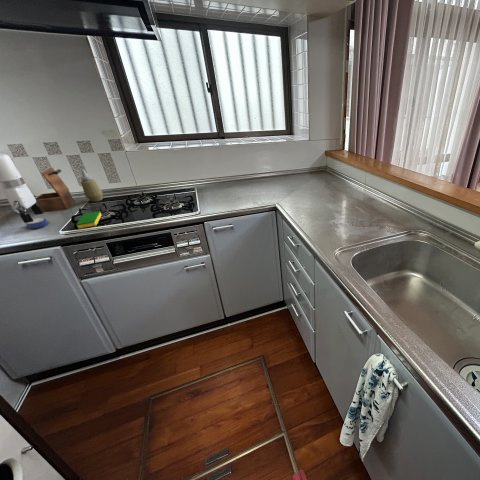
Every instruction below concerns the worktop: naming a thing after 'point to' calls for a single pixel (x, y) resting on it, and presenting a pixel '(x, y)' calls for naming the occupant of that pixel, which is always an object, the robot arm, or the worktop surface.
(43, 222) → the rice dish
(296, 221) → the worktop surface
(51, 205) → the storage box
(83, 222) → the dish sponge
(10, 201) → the robot arm
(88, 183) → the squeeze bottle
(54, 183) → the box lid
